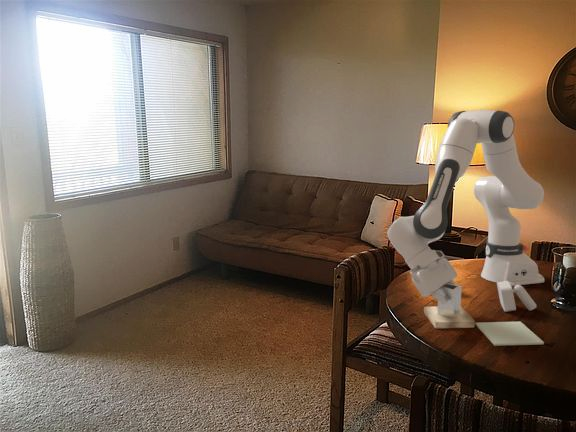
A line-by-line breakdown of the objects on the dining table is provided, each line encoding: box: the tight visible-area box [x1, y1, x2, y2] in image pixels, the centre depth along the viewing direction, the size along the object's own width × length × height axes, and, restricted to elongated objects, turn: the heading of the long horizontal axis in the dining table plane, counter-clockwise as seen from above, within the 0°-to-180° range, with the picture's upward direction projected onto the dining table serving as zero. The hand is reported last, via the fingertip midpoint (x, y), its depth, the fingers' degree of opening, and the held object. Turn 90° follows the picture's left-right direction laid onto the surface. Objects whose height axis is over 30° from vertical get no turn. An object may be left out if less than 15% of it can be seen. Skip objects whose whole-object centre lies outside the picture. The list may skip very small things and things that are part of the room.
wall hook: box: [496, 281, 537, 313], centre depth 167 cm, size 8×10×10 cm
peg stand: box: [423, 305, 476, 329], centre depth 160 cm, size 12×12×9 cm
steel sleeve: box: [437, 283, 463, 318], centre depth 159 cm, size 5×5×9 cm
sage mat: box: [475, 321, 545, 347], centre depth 150 cm, size 14×14×1 cm
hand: (451, 298), depth 159 cm, fingers open, 8 cm apart
